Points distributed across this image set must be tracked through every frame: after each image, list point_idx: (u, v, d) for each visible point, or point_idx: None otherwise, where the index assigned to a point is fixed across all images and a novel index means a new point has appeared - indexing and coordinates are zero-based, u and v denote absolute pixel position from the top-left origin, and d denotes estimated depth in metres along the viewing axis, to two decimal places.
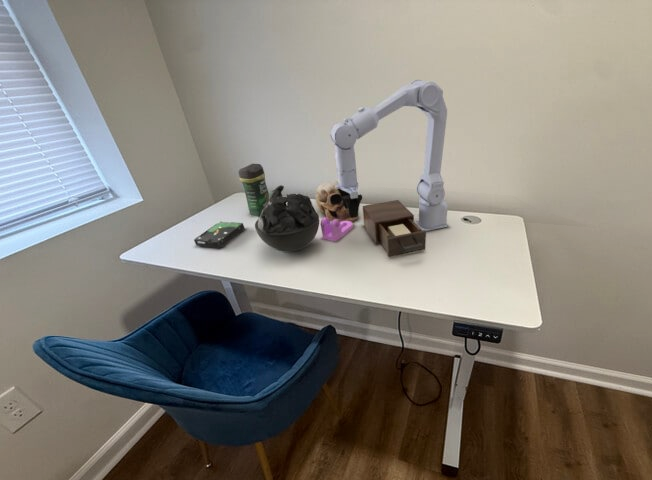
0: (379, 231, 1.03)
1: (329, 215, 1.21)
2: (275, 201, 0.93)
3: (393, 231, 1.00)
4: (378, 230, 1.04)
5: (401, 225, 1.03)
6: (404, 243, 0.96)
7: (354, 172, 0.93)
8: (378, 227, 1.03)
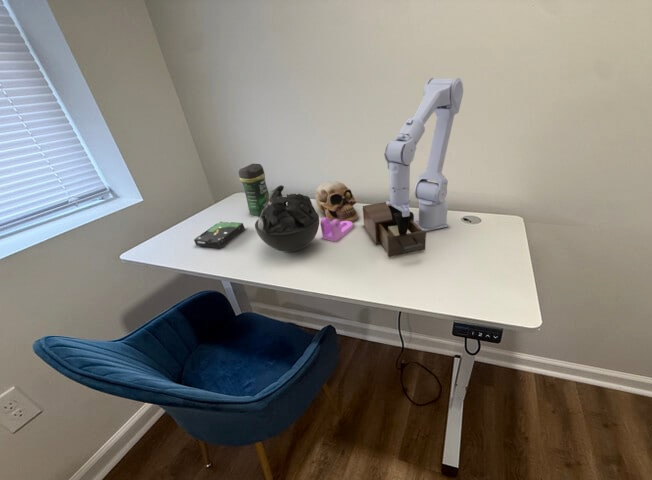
0: (379, 231, 1.03)
1: (329, 215, 1.21)
2: (275, 201, 0.93)
3: (393, 231, 1.00)
4: (378, 230, 1.04)
5: None
6: (404, 243, 0.96)
7: (407, 189, 0.91)
8: (378, 227, 1.03)
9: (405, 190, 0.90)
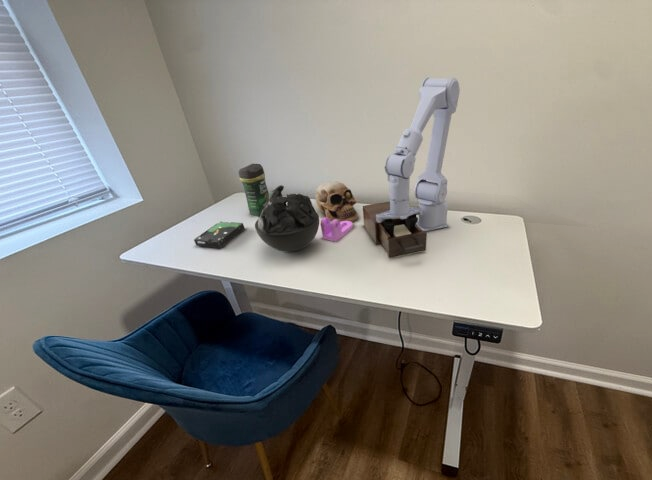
0: (379, 232, 1.02)
1: (329, 215, 1.21)
2: (275, 201, 0.93)
3: None
4: (378, 231, 1.03)
5: (402, 225, 1.03)
6: (405, 244, 0.96)
7: None
8: (378, 228, 1.02)
9: None
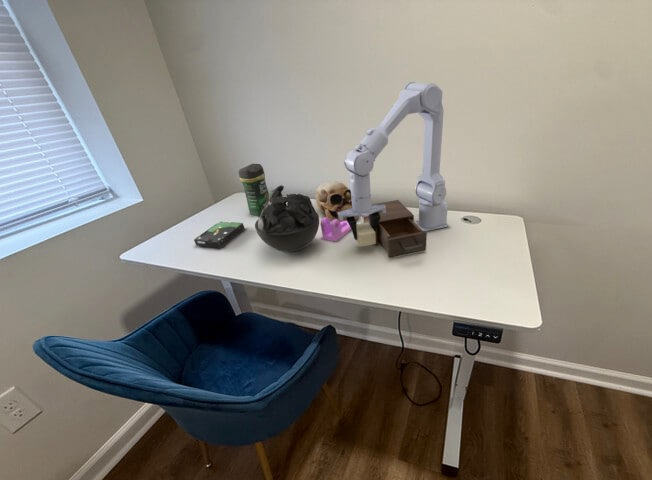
0: (379, 232, 1.02)
1: (329, 215, 1.21)
2: (275, 201, 0.93)
3: (357, 229, 0.99)
4: (378, 231, 1.03)
5: (366, 223, 1.02)
6: (405, 244, 0.96)
7: None
8: (378, 228, 1.02)
9: None
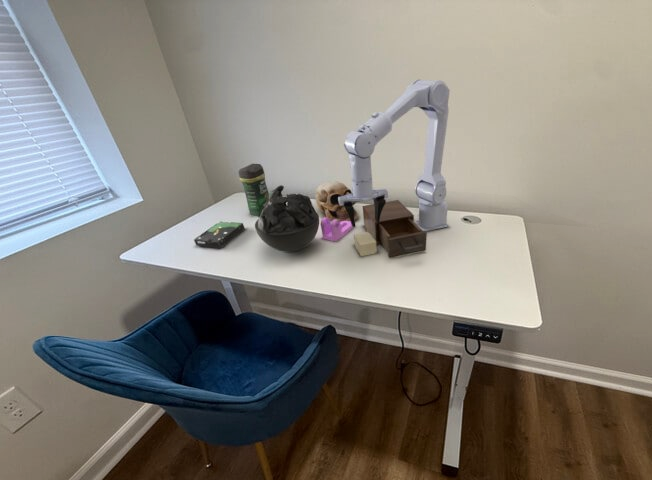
0: (379, 232, 1.02)
1: (329, 215, 1.21)
2: (275, 201, 0.93)
3: (358, 239, 1.01)
4: (378, 231, 1.03)
5: (366, 233, 1.04)
6: (405, 244, 0.96)
7: None
8: (378, 228, 1.02)
9: None
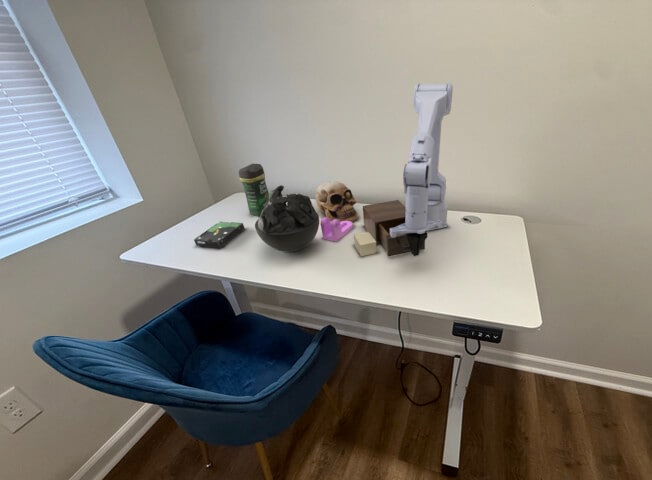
0: (379, 231, 1.03)
1: (329, 215, 1.21)
2: (275, 201, 0.93)
3: (358, 239, 1.01)
4: (378, 230, 1.04)
5: (366, 233, 1.04)
6: (404, 242, 0.96)
7: None
8: (378, 227, 1.03)
9: None
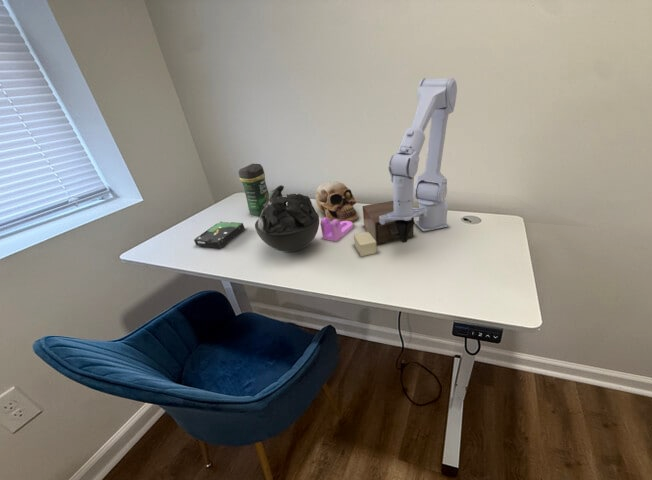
0: None
1: (329, 215, 1.21)
2: (275, 201, 0.93)
3: (358, 239, 1.01)
4: None
5: (366, 233, 1.04)
6: (393, 230, 1.03)
7: None
8: None
9: None
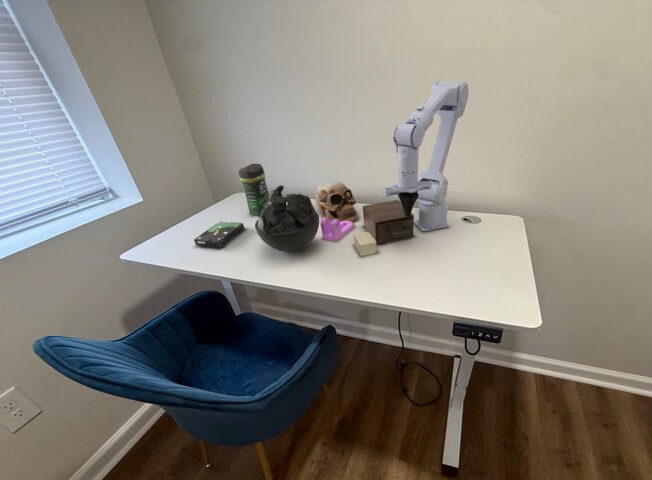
0: None
1: (329, 215, 1.21)
2: (275, 201, 0.93)
3: (358, 239, 1.01)
4: None
5: (366, 233, 1.04)
6: (393, 230, 1.03)
7: None
8: None
9: None
